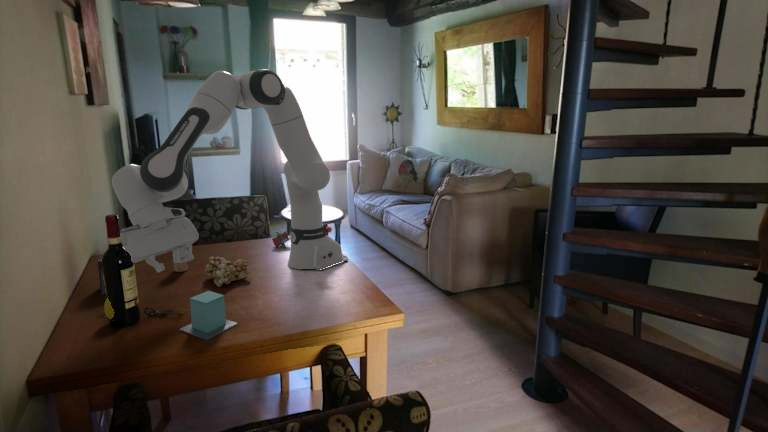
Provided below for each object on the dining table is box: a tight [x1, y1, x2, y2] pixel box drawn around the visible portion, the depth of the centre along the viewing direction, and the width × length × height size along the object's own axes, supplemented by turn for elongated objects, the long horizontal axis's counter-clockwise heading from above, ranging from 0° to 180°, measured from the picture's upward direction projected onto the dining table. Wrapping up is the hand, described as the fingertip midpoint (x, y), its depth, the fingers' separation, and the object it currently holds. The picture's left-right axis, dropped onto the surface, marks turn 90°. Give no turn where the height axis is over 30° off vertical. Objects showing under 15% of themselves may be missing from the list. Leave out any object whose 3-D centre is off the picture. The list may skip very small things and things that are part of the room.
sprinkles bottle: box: [172, 247, 189, 273], centre depth 160 cm, size 5×5×14 cm
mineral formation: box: [204, 256, 252, 288], centre depth 153 cm, size 8×13×15 cm
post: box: [179, 319, 239, 341], centre depth 119 cm, size 10×10×6 cm
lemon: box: [103, 297, 115, 320], centre depth 121 cm, size 6×6×8 cm
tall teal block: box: [189, 290, 227, 333], centre depth 119 cm, size 6×6×8 cm
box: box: [97, 253, 106, 295], centre depth 142 cm, size 8×6×11 cm
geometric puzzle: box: [272, 231, 291, 249], centre depth 190 cm, size 7×7×8 cm
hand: (176, 265), depth 125 cm, fingers open, 8 cm apart
